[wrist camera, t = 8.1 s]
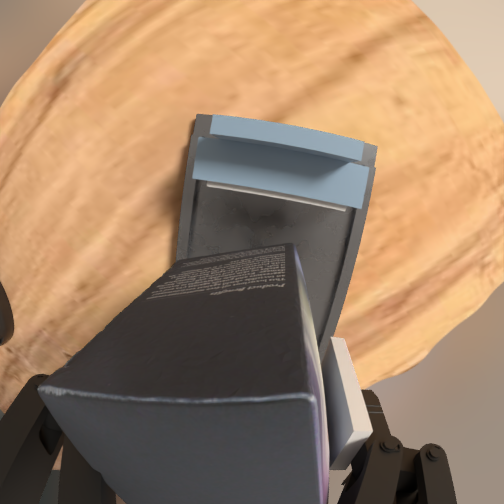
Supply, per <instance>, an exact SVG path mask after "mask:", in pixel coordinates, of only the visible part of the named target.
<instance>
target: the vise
mask: <svg viewBox="0 0 504 504" xmlns="http://www.w3.org/2000/svg"><path fill="white" fill-rule="evenodd" d="M212 118H213V115H204V114H197V116H196V121H195V127H194V133H193V135H191V141H190V147H189V153H188V160H187V167H186V174H185V181H184V188H183V196H182V204H181V213H180V222H179V231H178V241H177V252H176V261H177V260H181V259H187V258H193V257H199V256H207V255H213V254H218V253H225V252H231V251H238V250H243V249H250V248H257V247H262V246H269V245H277V244H284V243H294V244H295V246H296V249H297V253H298V256H299V260H300V263H301V267H302V271H303V275H304V279H305V283H306V288H307V293H308V297H309V302H310V307H311V312H312V317H313V323H314V329H315V335H316V340H317V346H318V352H319V358H320V364H321V363H322V360H323V358H324V355H325V352H326V349H327V346H328V343H329V340H330V337H333V335H334V332H335V329H336V326H337V323H338V320H339V317H340V314H341V310H342V307H343V304H344V301H345V297H346V294H347V290H348V287H349V283H350V280H351V276H352V273H353V269H354V265H355V261H356V257H357V254H358V250H359V246H360V241H361V237H362V233H363V229H364V224H365V220H366V215H367V211H368V206H369V201H370V196H371V191H372V186H373V181H374V175H375V169H376V168H375V167H374V165H375V159H376V153H377V146H375V145H371V144H368V143H364V147H363V153H362V160H361V161H357V162H350V163H354V164H358V165H362V166H366V167H369V173H368V178H367V184H366V189H365V194H364V199H363V204H362V209H359V208H355V207H350V206H346V211H341V210H336V209H332V208H327V207H322V206H317V205H312V204H307V203H302V202H297V201H291V200H286V199H281V198H275V197H270V196H264V195H258V194H252V193H246V192H240V191H234V190H227V189H221V188H214V187H208V186H207V180H199V179H192V177H193V170H194V163H195V157H196V150H197V144H198V138H199V137H206V138H215V139H219V138H217V137H215V136H213V135H211V134H210V129H211V123H212Z"/></svg>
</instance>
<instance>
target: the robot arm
mask: <svg viewBox="0 0 504 504" xmlns="http://www.w3.org/2000/svg"><path fill="white" fill-rule="evenodd" d="M13 331H14V323H13V316H12V311H11V308H10V304H9V301H8V298H7V296H6V293H5V291H4V289H3V286H2V284H1V282H0V346H1V345H3V344H4V343H6V342H7V341H8V340H9V339H11V337H12V335H13ZM321 371H322V378H323V386H324V395H325V404H326V415H327V428H328V440H329V470H346V469H347V467H348V466H349V464H350V463H351V466H352V471H351V473H350V474H349V475H348V476H347V478H346V479H345V480H344V481H343V483H342V484H341V485H344V484H345V486H344V489H343V491H342V493H341V496H340V498H339V501H338V503H337V504H457V501H456V496H455V491H454V486H453V481H452V477H451V473H450V468H449V464H448V460H447V456H446V453H445V451H444V450H443V449H442V448H441V447H440V446H438V445H436V444H432V443H430V444H426V445H424V446H423V447H422V448H421V449H420V450H415V449H409V448H405V447H403V445H402V443H401V442H400V441H399V440H398V439H397V438H396V437H394V436H391V434H390V431H389V428H388V425H387V422H386V419H385V416H384V414H383V410H382V408H381V405H380V402H379V399H378V397H377V396H376V395H375V394H374V392H372V390H361V389H360V385H359V382H358V379H357V376H356V373H355V370H354V367H353V364H352V360H351V357H350V354H349V351H348V348H347V345H346V342H345V340H344V338H338V337H330V340H329V343H328V346H327V349H326V352H325V355H324V358H323V360H322V363H321ZM48 377H49V375H46V374H37V375H35V376H33V377H31V378H30V379H29V380H28V382H27V383H26V384H25V386H24V387H23V389H22V390H21V391H20V393H19V394H18V396H17V397H16V398H15V400H14V401H13V403H12V404H11V406H10V407H9V409H8V410H7V412H6V413H5V415H4V416H3V418H2V419H1V421H0V504H39V501H40V499H41V496H42V493H43V491H44V488H45V486H46V483H47V481H48V478H49V476H50V473H51V471H52V469H53V466H54V464H55V462H56V459H57V457H58V455H59V452H60V450H61V448H62V446H63V450H62V458H61V468H60V481H59V494H58V504H116V493H115V492H114V491H113V490H112V489H111V488H110V487H109V486H108V485H107V484H106V482H105V480H104V478H103V477H102V474H101V473H100V472H98V471H96V470H94V469H93V468H92V467H91V466H90V465H89V463H88V462H87V461H86V460H85V458H84V457H83V456H82V455H81V454H80V453H79V451H78V450H77V449H76V447H75V446H74V445H73V443H72V442H71V441H70V439H69V438H68V437H67V436H66V434H65V433H64V432H63V430H62V429H61V428H60V426H59V425H58V423H57V422H56V420H55V419H54V417H53V416H52V414H51V413H50V411H49V410H48V408H47V407H46V405H45V403H44V402H43V400H42V399H41V397H40V395H39V394H38V390H37V389H38V387H39V386H40V385H41V384H42V383H43V382H44V381H45V380H46V379H47V378H48Z"/></svg>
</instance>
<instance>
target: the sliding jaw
mask: <svg viewBox="0 0 504 504" xmlns="http://www.w3.org/2000/svg"><path fill="white" fill-rule="evenodd" d="M210 134H211V135H213V136H215V137H217V138H219V139H215V138H206V137H199V138H198V144H197V150H196V157H195V163H194V170H193V177H192V179H199V180H207V186H208V187H214V188H221V189H227V190H234V191H240V192H246V193H252V194H258V195H264V196H270V197H275V198H281V199H286V200H291V201H297V202H302V203H307V204H312V205H317V206H322V207H327V208H332V209H336V210H341V211H346V206H350V207H355V208H359V209H362V204H363V199H364V194H365V189H366V184H367V178H368V173H369V167H366V166H362V165H358V164H354V163H350V162H357V161H361V160H362V153H363V147H364V142H363V141H360V140H356V139H352V138H348V137H344V136H340V135H336V134H331V133H327V132H322V131H318V130H313V129H308V128H303V127H298V126H292V125H287V124H281V123H275V122H269V121H262V120H256V119H248V118H241V117H232V116H223V115H213V118H212V123H211V129H210Z"/></svg>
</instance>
